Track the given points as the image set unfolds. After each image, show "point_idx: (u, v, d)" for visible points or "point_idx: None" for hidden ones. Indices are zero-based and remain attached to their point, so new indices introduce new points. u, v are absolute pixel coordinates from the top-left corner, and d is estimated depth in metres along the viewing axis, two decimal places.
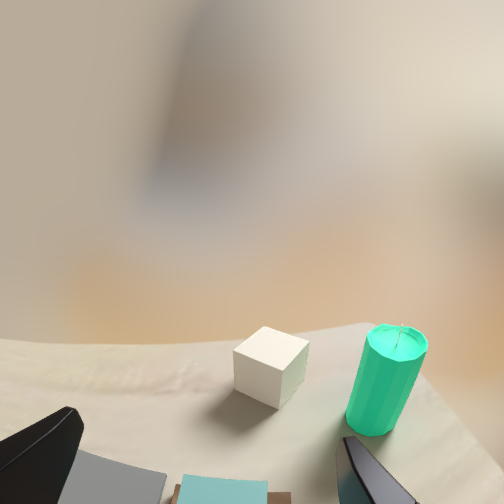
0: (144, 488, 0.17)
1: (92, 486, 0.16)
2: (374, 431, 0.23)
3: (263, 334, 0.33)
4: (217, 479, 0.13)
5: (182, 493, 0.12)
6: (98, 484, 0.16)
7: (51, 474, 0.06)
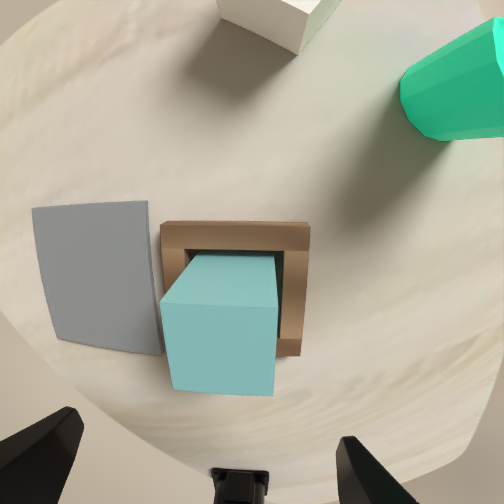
0: (127, 233, 0.19)
1: (78, 253, 0.20)
2: (434, 136, 0.16)
3: None
4: (206, 303, 0.12)
5: (167, 332, 0.12)
6: (82, 247, 0.20)
7: (51, 474, 0.06)
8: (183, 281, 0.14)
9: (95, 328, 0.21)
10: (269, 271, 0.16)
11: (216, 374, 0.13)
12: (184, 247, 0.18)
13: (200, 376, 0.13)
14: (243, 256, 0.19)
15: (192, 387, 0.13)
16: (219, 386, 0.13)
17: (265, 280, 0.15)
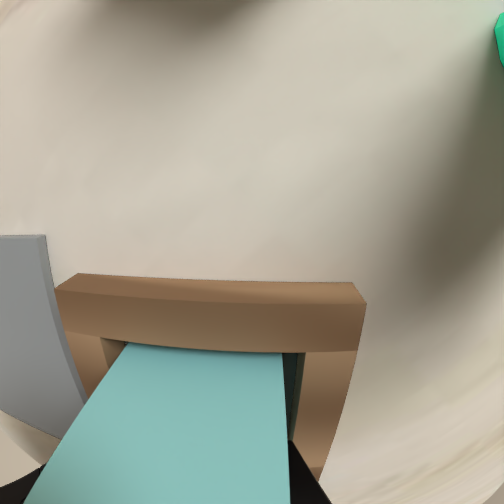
0: (23, 291, 0.09)
1: None
2: None
3: None
4: None
5: None
6: None
7: None
8: (71, 451, 0.04)
9: (23, 407, 0.11)
10: (272, 425, 0.06)
11: None
12: (100, 335, 0.08)
13: None
14: (218, 353, 0.09)
15: None
16: None
17: (261, 470, 0.05)
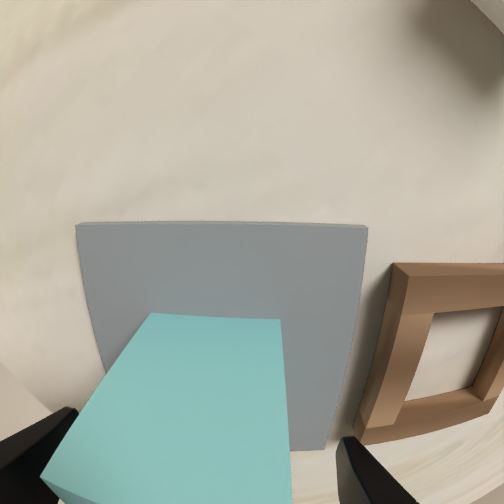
0: (324, 286, 0.10)
1: None
2: None
3: None
4: None
5: None
6: (207, 310, 0.11)
7: None
8: (96, 411, 0.06)
9: None
10: (273, 385, 0.07)
11: None
12: (435, 311, 0.09)
13: None
14: (225, 329, 0.10)
15: None
16: None
17: (264, 421, 0.06)
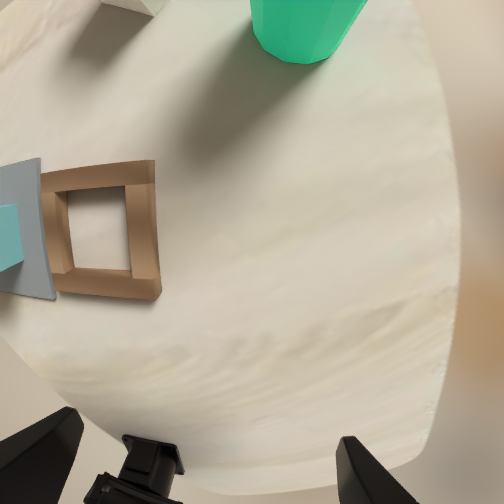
0: (26, 186, 0.18)
1: None
2: (290, 57, 0.15)
3: None
4: None
5: None
6: (0, 202, 0.19)
7: (51, 474, 0.06)
8: None
9: (10, 275, 0.21)
10: None
11: None
12: (54, 190, 0.17)
13: None
14: None
15: None
16: None
17: None
